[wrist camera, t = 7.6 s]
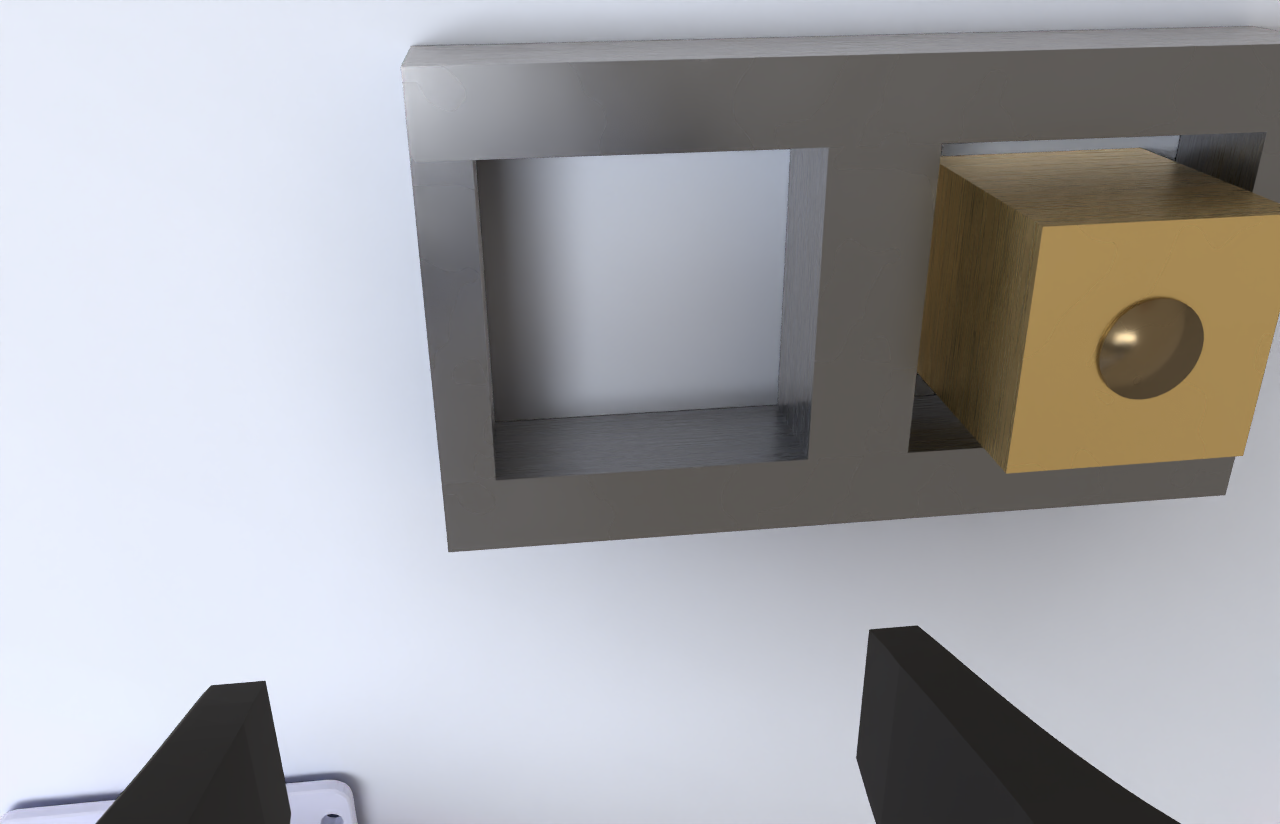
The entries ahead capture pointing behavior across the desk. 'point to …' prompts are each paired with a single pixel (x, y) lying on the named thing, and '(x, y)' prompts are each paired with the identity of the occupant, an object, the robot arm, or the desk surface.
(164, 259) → the desk surface
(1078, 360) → the nut block
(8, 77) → the desk surface
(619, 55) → the grey metal flat frame
